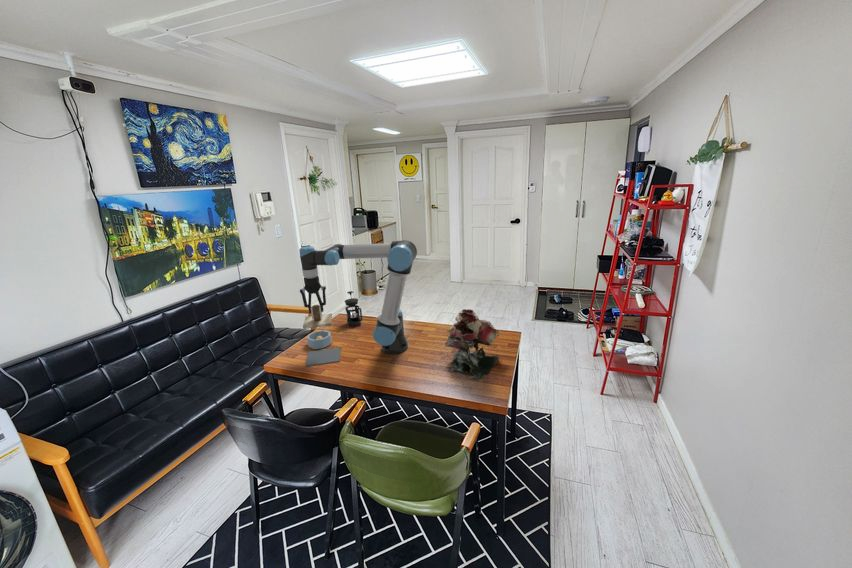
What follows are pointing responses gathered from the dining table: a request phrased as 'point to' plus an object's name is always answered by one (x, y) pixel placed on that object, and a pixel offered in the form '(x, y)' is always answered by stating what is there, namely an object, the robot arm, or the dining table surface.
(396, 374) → the dining table surface
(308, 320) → the lid
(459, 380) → the dining table surface
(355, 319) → the french press
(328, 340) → the bowl
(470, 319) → the rose bouquet
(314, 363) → the mat
